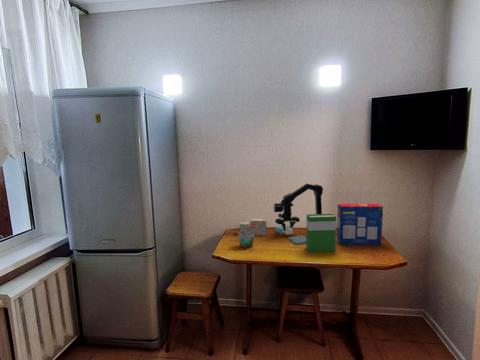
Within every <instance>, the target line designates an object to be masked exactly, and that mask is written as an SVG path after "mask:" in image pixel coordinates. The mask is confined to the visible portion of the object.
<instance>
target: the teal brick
mask: <svg viewBox="0 0 480 360" xmlns="http://www.w3.org/2000/svg"><path fill="white" fill-rule="evenodd" d="M274 232H276V233H278V234H280V235H281V234H285V233H284V232H282V225H276V226H274Z"/></svg>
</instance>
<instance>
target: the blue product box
mask: <svg viewBox="0 0 480 360" xmlns="http://www.w3.org/2000/svg"><path fill="white" fill-rule="evenodd" d="M383 211H384V206H383V205H381V204H379V203H337V219H336V241H337V243H338V245H339V246H340V245H343V246H344V245H345V246H376V247H377V246H378V247H379V246H380V247H381V246H382V232H383V231H382V230H383V217H384V216H383V215H384V214H383V213H384V212H383Z"/></svg>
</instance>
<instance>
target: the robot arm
mask: <svg viewBox="0 0 480 360" xmlns="http://www.w3.org/2000/svg"><path fill="white" fill-rule="evenodd" d="M308 190H310V191H313V194H314V197H315V198H314V199H315V214H323V210H322V209H323V208H322V205H323V204H322V196H323V191H324V188H323V186H322V185H319V184H318V183H317V184H311V183H310V184H309V183H305V184H304V185H302V186H300V187H299V188H297V189H296V190H295V191H293V192H291V193H287V194H284V196H283V197H282V200H281V201H280V203H274V206H273V212H274V213H278V215H277V217H278V218H275V220H274V222H275V223H276V224H277V225H280V226H282V227H283V230H284V231H285V226H286V222H289V227H291V228H293V227H294V226H295V224H296V223H299V222H300V221H301V219H300V217H298V216H292V215H293V213H292V207H294V206H295V205H294V204H293V203H292V202H294V201H295V199H296V198H297V197H298V196H300V195H302V194H304V193H305V192H307V191H308ZM293 229H294V228H293Z"/></svg>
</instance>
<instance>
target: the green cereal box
mask: <svg viewBox="0 0 480 360" xmlns="http://www.w3.org/2000/svg"><path fill="white" fill-rule="evenodd" d="M305 230H306V232H305V234H306V236H305V237H306V243H305V245H306V246H305V247H306V250H307V251H308V252H309V253H323V252H325V253H327V252H330V253H332V252H336V243H337V242H336V241H337V216H335V215H333V213H322V214H316V213H313V214H306V229H305Z"/></svg>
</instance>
